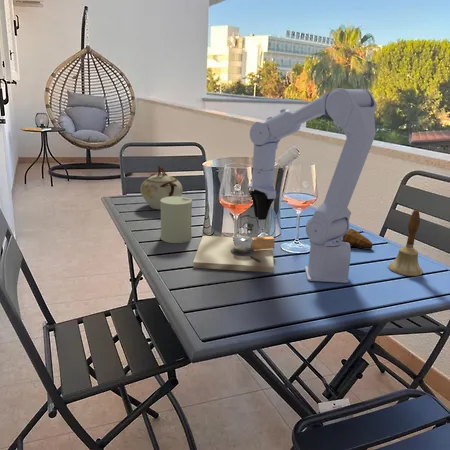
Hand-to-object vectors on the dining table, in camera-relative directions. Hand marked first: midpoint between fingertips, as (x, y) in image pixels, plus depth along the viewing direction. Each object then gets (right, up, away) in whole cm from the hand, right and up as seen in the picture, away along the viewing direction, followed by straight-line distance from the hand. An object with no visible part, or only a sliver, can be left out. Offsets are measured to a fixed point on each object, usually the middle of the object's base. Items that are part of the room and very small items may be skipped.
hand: (260, 218), depth 123 cm
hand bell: (+37, -14, -6) cm, 40 cm away
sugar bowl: (-33, +5, +42) cm, 53 cm away
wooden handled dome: (-2, -8, -2) cm, 9 cm away
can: (-24, -6, +11) cm, 27 cm away
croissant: (+27, -8, +10) cm, 30 cm away
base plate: (-7, -10, -1) cm, 12 cm away
